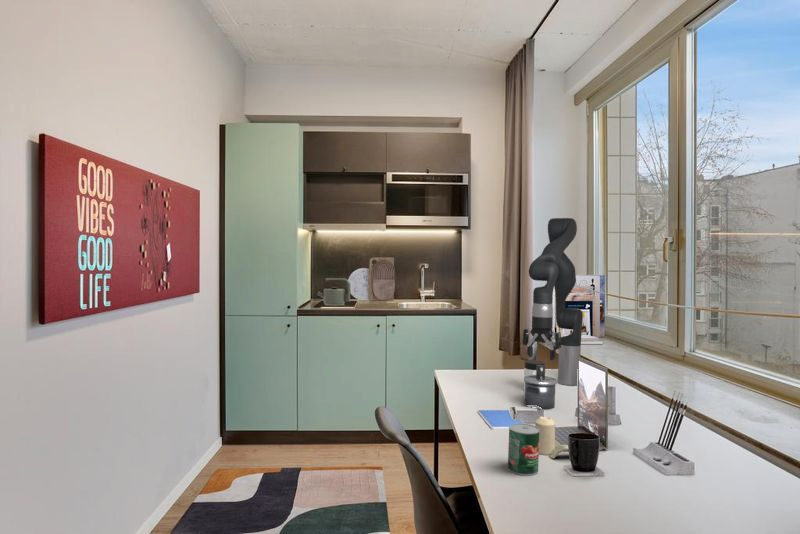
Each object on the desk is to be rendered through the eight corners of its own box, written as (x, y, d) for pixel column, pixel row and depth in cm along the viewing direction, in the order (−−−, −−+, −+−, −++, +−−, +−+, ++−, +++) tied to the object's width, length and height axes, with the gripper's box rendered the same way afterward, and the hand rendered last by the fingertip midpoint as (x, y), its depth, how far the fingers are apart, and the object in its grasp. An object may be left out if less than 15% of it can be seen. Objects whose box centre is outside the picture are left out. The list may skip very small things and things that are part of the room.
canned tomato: (533, 478, 136) (535, 435, 136) (503, 471, 140) (504, 429, 140) (541, 467, 143) (543, 426, 143) (512, 461, 147) (514, 421, 147)
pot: (534, 398, 212) (535, 375, 212) (561, 404, 205) (562, 380, 205) (516, 406, 200) (517, 382, 199) (544, 412, 193) (545, 387, 193)
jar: (548, 391, 223) (549, 362, 223) (536, 394, 218) (537, 365, 218) (530, 387, 230) (531, 359, 230) (518, 389, 225) (519, 361, 225)
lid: (532, 376, 211) (532, 361, 210) (562, 381, 203) (562, 365, 203) (518, 381, 201) (519, 365, 201) (549, 387, 194) (549, 370, 193)
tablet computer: (476, 413, 193) (476, 409, 193) (510, 412, 194) (511, 409, 194) (491, 431, 173) (491, 427, 173) (529, 430, 175) (529, 426, 175)
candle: (554, 449, 157) (555, 415, 156) (553, 456, 151) (554, 421, 151) (535, 447, 158) (536, 413, 158) (533, 453, 153) (534, 418, 153)
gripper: (564, 316, 200) (563, 359, 200) (528, 312, 209) (527, 354, 209) (556, 318, 194) (555, 362, 194) (520, 314, 203) (519, 357, 203)
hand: (541, 358), depth 202 cm, fingers open, 8 cm apart
